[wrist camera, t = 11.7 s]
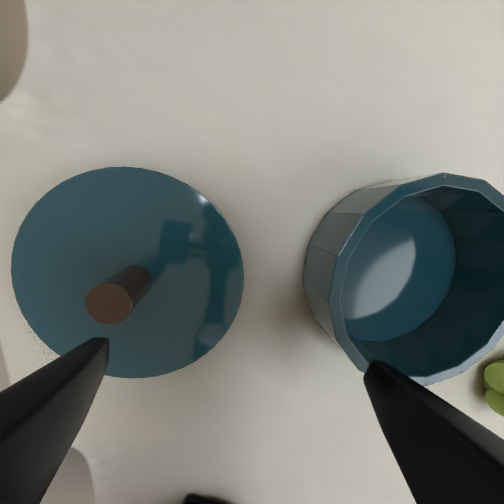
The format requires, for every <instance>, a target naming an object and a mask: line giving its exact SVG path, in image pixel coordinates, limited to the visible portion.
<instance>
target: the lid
mask: <svg viewBox="0 0 504 504" xmlns="http://www.w3.org/2000/svg"><path fill="white" fill-rule="evenodd" d="M11 275H12V284H13V289H14V292H15V296H16V300H17V302H18V305H19V307H20V309H21V312H22V314H23V315H24V317H25V319H26V320H27V322H28V324H29V325H30V327H31V328H32V329H33V331H34V332H35V333H36V334H37V336H38V337H39V338H40V339H41V340H42V341H43V342H44V343H45V344H46V345H47V346H48V347H49V348H50V349H52V350H53V351H54V352H56V353H57V354H58V355H60V356H62V355H64V354H66V353H67V352H69V351H71V350H72V349H74V348H76V347H77V346H79V345H81V344H82V343H84V342H86V341H88V340H89V339H91V338H93V337H105V338H108V339H109V342H110V346H109V364H108V367H107V369H106V372H105V374H104V375H107V376H112V377H120V378H146V377H153V376H159V375H163V374H166V373H170V372H173V371H176V370H178V369H181V368H183V367H185V366H187V365H189V364H191V363H193V362H195V361H196V360H198V359H199V358H200V357H202V356H203V355H205V354H206V353H207V352H208V351H209V350H211V349H212V348H213V347H214V346H215V345H216V344H217V343H218V342H219V340H220V339H221V338H222V337H223V336H224V334H225V333H226V332H227V330H228V329H229V327H230V326H231V324H232V322H233V320H234V318H235V316H236V313H237V310H238V308H239V305H240V301H241V296H242V291H243V279H244V275H243V263H242V258H241V254H240V250H239V247H238V244H237V241H236V238H235V236H234V234H233V232H232V230H231V229H230V227H229V225H228V223H227V222H226V220H225V219H224V218H223V216H222V215H221V213H220V212H219V211H218V210H217V209H216V208H215V207H214V205H213V204H212V203H211V202H210V201H208V200H207V199H206V198H205V197H204V196H203V195H202V194H200V193H199V192H198V191H196V190H195V189H193V188H192V187H190V186H189V185H187V184H185V183H183V182H181V181H179V180H177V179H175V178H173V177H171V176H168V175H165V174H162V173H159V172H156V171H151V170H147V169H142V168H132V167H109V168H103V169H97V170H92V171H89V172H86V173H82V174H79V175H76V176H74V177H72V178H70V179H68V180H66V181H64V182H62V183H60V184H59V185H57V186H56V187H55V188H53V189H52V190H50V191H49V192H48V193H46V194H45V195H44V196H43V197H42V198H41V199H40V200H39V201H38V202H37V203H36V204H35V205H34V207H33V208H32V209H31V210H30V212H29V213H28V214H27V216H26V218H25V219H24V221H23V223H22V225H21V226H20V229H19V231H18V234H17V237H16V239H15V242H14V247H13V252H12V261H11Z"/></svg>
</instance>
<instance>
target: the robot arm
mask: <svg viewBox="0 0 504 504" xmlns="http://www.w3.org/2000/svg"><path fill="white" fill-rule="evenodd" d="M109 346H110V342H109V339H108V338H105V337H93V338H91V339H89V340H88V341H86V342H84V343H82V344H81V345H79V346H77V347H76V348H74V349H72V350H71V351H69V352H67V353H66V354H64V355H62V356H61V357H59V358H57V359H55V360H54V361H52V362H50V363H49V364H47V365H45V366H44V367H42V368H40V369H39V370H37V371H35V372H33V373H32V374H30V375H28V376H27V377H25V378H23V379H22V380H20V381H18V382H17V383H15V384H13V385H12V386H10V387H8V388H7V389H5V390H3V391H1V392H0V504H40V502H41V500H42V498H43V496H44V494H45V493H46V491H47V489H48V487H49V485H50V483H51V482H52V480H53V478H54V476H55V474H56V472H57V471H58V469H59V467H60V465H61V463H62V461H63V460H64V458H65V456H66V454H67V452H68V450H69V449H70V447H71V445H72V443H73V441H74V439H75V438H76V436H77V434H78V432H79V430H80V428H81V426H82V424H83V422H84V421H85V418H86V416H87V414H88V412H89V409H90V407H91V405H92V402H93V400H94V398H95V395H96V393H97V390H98V388H99V386H100V383H101V381H102V379H103V376H104V374H105V372H106V369H107V367H108V364H109ZM363 380H364V384H365V387H366V390H367V392H368V395H369V398H370V400H371V403H372V405H373V408H374V411H375V413H376V416H377V419H378V421H379V424H380V426H381V429H382V431H383V433H384V435H385V438H386V440H387V442H388V444H389V446H390V448H391V450H392V452H393V454H394V457H395V459H396V461H397V463H398V465H399V467H400V469H401V471H402V474H403V476H404V478H405V480H406V482H407V484H408V486H409V488H410V491H411V493H412V495H413V497H414V499H415V501H416V503H417V504H504V440H503V439H502V438H500V437H499V436H497V435H496V434H494V433H493V432H491V431H490V430H488V429H487V428H485V427H484V426H482V425H481V424H479V423H478V422H476V421H475V420H473V419H472V418H470V417H469V416H467V415H466V414H464V413H463V412H461V411H460V410H458V409H457V408H455V407H454V406H452V405H451V404H449V403H448V402H446V401H445V400H443V399H442V398H440V397H439V396H437V395H436V394H434V393H433V392H431V391H429V390H428V389H426V388H425V387H423V386H422V385H420V384H419V383H417V382H416V381H414V380H413V379H411V378H410V377H408V376H407V375H405V374H404V373H402V372H401V371H399V370H398V369H396V368H395V367H393V366H392V365H390V364H389V363H387V362H386V361H384V360H380V359H372V360H371V361H370V362H369V365H368V367H367V369H366V371H365V374H364V377H363ZM182 504H220V503H216V502H213V501H210V500H206V499H203V498H199V497H196V496H188V497H186V498H185V500H184V502H183V503H182Z"/></svg>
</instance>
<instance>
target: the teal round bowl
mask: <svg viewBox="0 0 504 504" xmlns="http://www.w3.org/2000/svg"><path fill="white" fill-rule="evenodd" d="M303 282H304V290H305V295H306V299H307V302H308V305H309V307H310V311H311V313H312V314H313V316H314V317H315V318H316V319H317V321H318V322H319V323H320V325H321V326H322V327H323V329H324V330H325V331H326V332H327V334H328V335H329V336H330V337H331V339H332V340H333V341H334V342H335V343H336V344H337V346H338V347H339V348H340V349H341V350H342V351H343V353H344V354H345V355H346V356H347V357H348V358H349V360H350V361H351V362H352V363H353V364H354V365H355V367H356V368H357V369H358V370H359V371H361V372H364V373H365V371H366V369H367V367H368V365H369V362H370V361H371V360H372V359H380V360H384V361H386V362H387V363H389V364H390V365H392V366H393V367H395V368H396V369H398V370H399V371H401V372H402V373H404V374H405V375H407V376H408V377H410V378H411V379H413V380H414V381H416V382H417V383H419V384H420V385H422V386H427V385H430V384H433V383H436V382H439V381H442V380H444V379H447V378H450V377H453V376H456V375H458V374H461V373H462V372H464V371H465V370H466V369H468V368H469V367H470V366H472V365H473V364H474V363H475V362H477V361H478V360H479V359H481V358H482V357H483V356H484V355H486V354H487V353H488V352H490V351H491V350H492V349H493V348H494V347H495V346H496V344H497V343H498V341H499V340H500V339H501V337H502V336H503V335H504V195H502V194H501V193H500V192H499V191H497V190H496V189H495V188H494V187H493V186H491V185H490V184H489V183H488V182H486V181H485V180H482V179H477V178H471V177H466V176H460V175H455V174H450V173H438V174H431V175H425V176H418V177H412V178H405V179H399V180H392V181H388V182H385V183H381V184H377V185H372V186H369V187H366V188H363V189H359V190H357V191H356V192H355V193H353V194H351V195H349V196H348V197H346V198H345V199H343V200H342V201H341V202H339V203H338V204H337V205H336V206H335V207H334V208H333V209H332V210H331V211H330V212H329V213H328V214H327V215H326V216H325V218H324V219H323V220H322V222H321V223H320V225H319V226H318V228H317V229H316V231H315V233H314V235H313V237H312V239H311V241H310V244H309V247H308V249H307V253H306V257H305V262H304V271H303Z"/></svg>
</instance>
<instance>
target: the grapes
mask: <svg viewBox="0 0 504 504" xmlns="http://www.w3.org/2000/svg"><path fill="white" fill-rule="evenodd" d="M484 386H485V388H486V389H487V390H486V393H485V398H486V401H487V403H488V405H489V406H490V407H491V408H492V409H493V410H494V411H495V412H497V413H498V414H500V415H502V416H504V359H501V360H498V361H496V362H495V363H492V364H490V365H488V366H487V367H486V368H485V370H484Z"/></svg>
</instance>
